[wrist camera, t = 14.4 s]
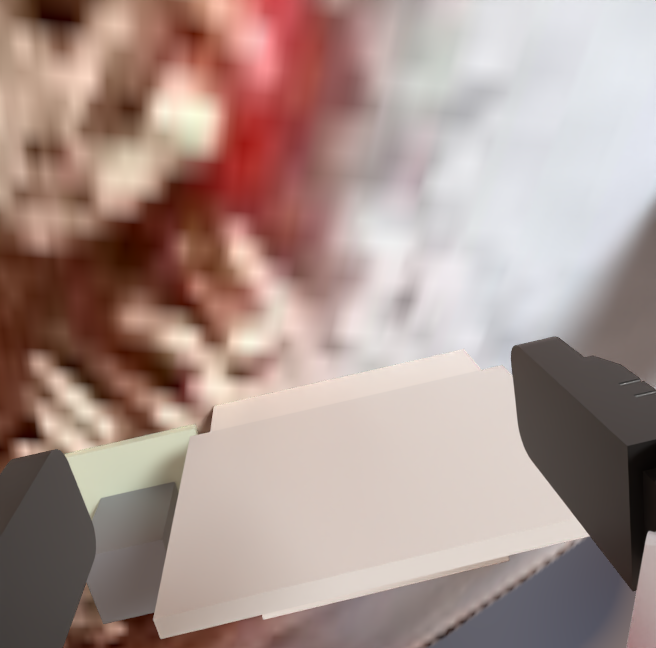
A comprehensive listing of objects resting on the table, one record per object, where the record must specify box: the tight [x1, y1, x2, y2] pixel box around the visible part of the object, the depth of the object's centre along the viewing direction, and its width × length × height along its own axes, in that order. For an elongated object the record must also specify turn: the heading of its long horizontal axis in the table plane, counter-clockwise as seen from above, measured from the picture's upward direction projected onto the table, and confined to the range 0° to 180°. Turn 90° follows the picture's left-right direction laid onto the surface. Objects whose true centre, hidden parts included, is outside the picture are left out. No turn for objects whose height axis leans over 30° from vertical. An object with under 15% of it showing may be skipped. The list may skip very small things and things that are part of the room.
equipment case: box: [153, 349, 590, 639], centre depth 35 cm, size 19×14×18 cm
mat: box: [64, 424, 199, 520], centre depth 43 cm, size 10×12×1 cm
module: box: [87, 482, 179, 624], centre depth 40 cm, size 5×5×6 cm
